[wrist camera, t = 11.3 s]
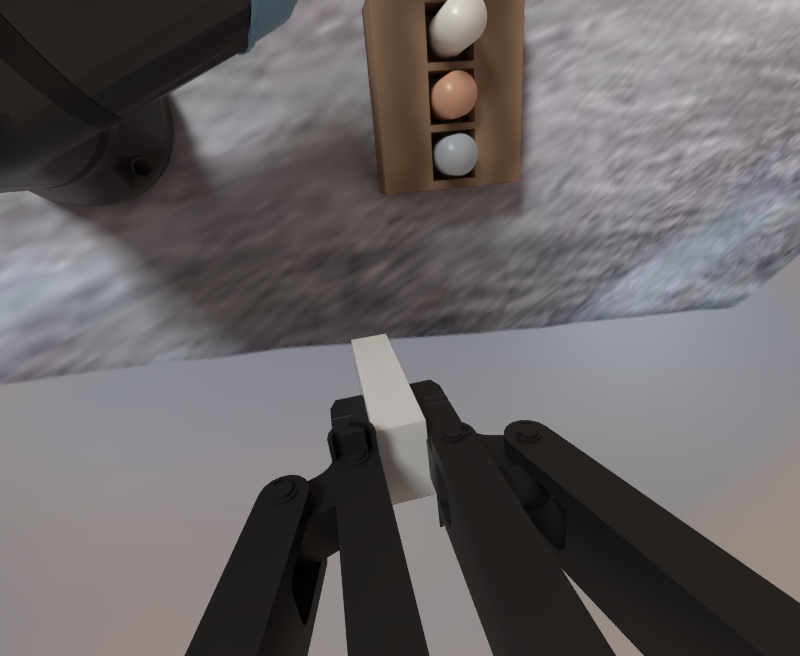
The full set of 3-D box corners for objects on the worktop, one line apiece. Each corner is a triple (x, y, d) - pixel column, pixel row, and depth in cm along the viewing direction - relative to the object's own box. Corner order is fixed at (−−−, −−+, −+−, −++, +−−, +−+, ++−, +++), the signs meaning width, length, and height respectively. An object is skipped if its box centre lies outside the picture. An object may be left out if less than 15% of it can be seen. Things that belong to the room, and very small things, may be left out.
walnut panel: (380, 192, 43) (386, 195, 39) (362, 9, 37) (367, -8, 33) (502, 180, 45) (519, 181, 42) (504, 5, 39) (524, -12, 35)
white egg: (428, 59, 37) (444, 44, 32) (426, 11, 35) (442, -11, 31) (466, 58, 37) (487, 43, 33) (465, 10, 36) (486, -12, 32)
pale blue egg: (428, 176, 43) (442, 177, 38) (426, 138, 41) (440, 135, 37) (461, 173, 43) (478, 173, 39) (460, 136, 42) (477, 132, 37)
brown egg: (425, 123, 41) (439, 117, 36) (423, 82, 39) (437, 71, 35) (459, 121, 41) (477, 115, 37) (458, 80, 40) (477, 69, 35)
